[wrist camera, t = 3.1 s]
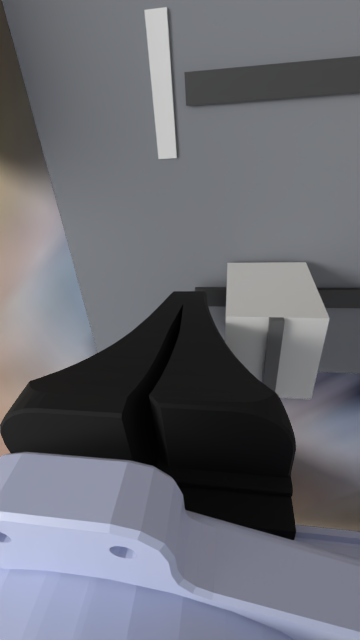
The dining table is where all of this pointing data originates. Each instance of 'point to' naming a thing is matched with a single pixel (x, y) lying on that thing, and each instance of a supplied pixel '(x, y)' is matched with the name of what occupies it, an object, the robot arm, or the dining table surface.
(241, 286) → the pale fader
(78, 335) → the dining table surface
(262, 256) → the fader board
